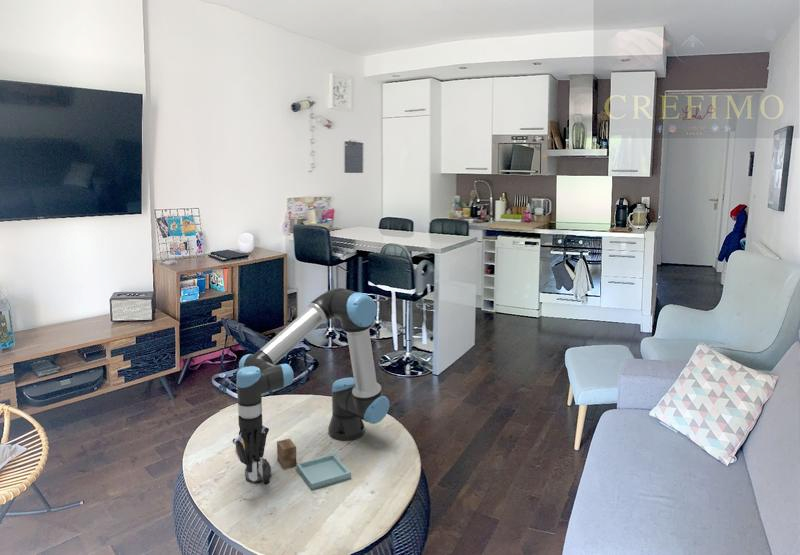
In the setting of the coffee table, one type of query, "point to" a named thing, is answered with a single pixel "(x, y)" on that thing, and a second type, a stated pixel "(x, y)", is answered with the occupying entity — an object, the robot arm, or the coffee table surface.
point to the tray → (323, 471)
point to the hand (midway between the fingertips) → (253, 479)
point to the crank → (264, 470)
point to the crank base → (259, 479)
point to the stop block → (286, 453)
